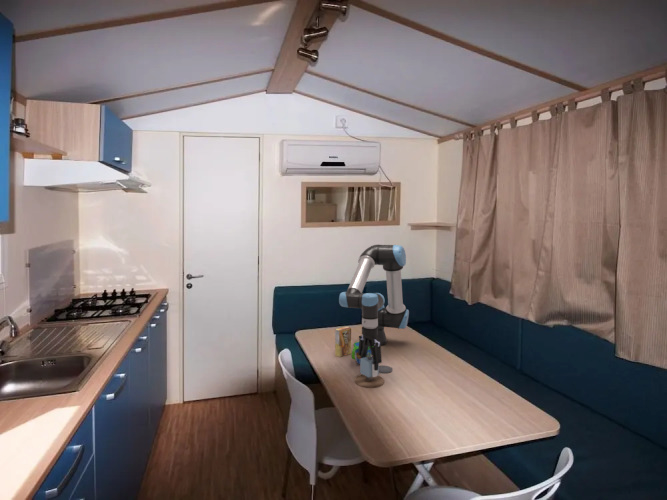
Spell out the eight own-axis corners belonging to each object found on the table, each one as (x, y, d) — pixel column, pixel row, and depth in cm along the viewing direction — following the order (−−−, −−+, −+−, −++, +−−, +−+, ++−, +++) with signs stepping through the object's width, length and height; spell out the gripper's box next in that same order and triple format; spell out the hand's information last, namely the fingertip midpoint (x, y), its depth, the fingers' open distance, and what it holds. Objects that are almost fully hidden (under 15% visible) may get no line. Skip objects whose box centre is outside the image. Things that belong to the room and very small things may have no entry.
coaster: (371, 369, 206) (371, 367, 205) (384, 365, 211) (384, 364, 210) (382, 374, 198) (382, 373, 198) (396, 370, 203) (396, 369, 203)
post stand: (348, 379, 192) (349, 360, 191) (371, 373, 200) (371, 354, 199) (367, 390, 180) (367, 369, 180) (390, 383, 188) (390, 362, 187)
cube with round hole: (360, 373, 191) (360, 356, 190) (370, 370, 194) (370, 353, 193) (368, 377, 186) (368, 360, 185) (378, 374, 189) (378, 357, 188)
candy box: (346, 351, 231) (346, 326, 230) (351, 353, 228) (351, 327, 227) (334, 355, 226) (334, 328, 224) (339, 357, 222) (339, 330, 221)
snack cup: (368, 356, 223) (368, 339, 223) (380, 362, 215) (381, 344, 214) (345, 362, 215) (346, 344, 214) (357, 368, 206) (357, 349, 205)
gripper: (350, 323, 194) (350, 368, 196) (377, 333, 177) (377, 382, 179) (362, 320, 198) (362, 365, 200) (390, 330, 182) (389, 378, 184)
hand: (369, 373), depth 190 cm, fingers open, 7 cm apart
